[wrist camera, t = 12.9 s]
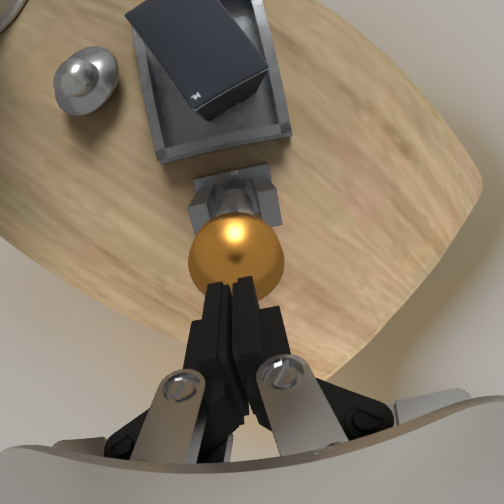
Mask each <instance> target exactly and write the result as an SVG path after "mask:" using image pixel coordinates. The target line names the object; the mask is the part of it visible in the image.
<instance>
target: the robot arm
mask: <svg viewBox="0 0 504 504" xmlns="http://www.w3.org/2000/svg"><path fill="white" fill-rule="evenodd" d="M26 1H27V0H0V32H2V31H3V30H4V29H5V28H6V27H7V26H8V25H9V24H10V23H11V22H12V21H13V19H14V18H15V17H16V16H17V14H18V13H19V12H20V10H21V9H22V7H23V6H24V4H25V2H26ZM237 281H238V282H236V283H233V286H232V294H231V290H230V287H229V284H226V285H224V284H223V282H222V281H221V282H216V283H210V284H207V289H206V296H205V302H204V308H203V315H202V319H201V320H195V321H192V323H191V327H190V333H189V338H188V343H187V349H186V354H185V360H184V365H183V369H181V370H177V371H174V372H172V373H171V374H169V375H167V376H166V377H165V378H164V379H163V380H162V381H161V383H160V385H159V387H158V389H157V392H156V394H155V396H154V399H153V401H152V404H151V406H150V408H149V409H148V410H146V411H145V412H144V413H142V414H141V415H139V416H138V417H136V418H135V419H134V420H132V421H131V422H130V423H128V424H127V425H125V426H124V427H122V428H121V429H120V430H118V431H117V432H115V433H114V434H113V435H111V436H110V437H109V438H108V439H106V438H105V437H98V438H88V439H76V440H75V439H74V440H62V441H58V442H57V443H55V444H54V445H53V447H49V446H41V445H21V446H14V447H10V448H7V449H5V450H3V451H1V452H0V504H504V396H500V395H496V396H484V397H477V398H473V399H472V397H471V396H470V394H469V393H467V392H466V391H465V390H462V389H458V388H456V389H449V390H444V391H440V392H436V393H431V394H427V395H422V396H417V397H412V398H406V399H401V400H396V401H395V404H388V405H386V404H384V403H382V402H380V401H377V400H374V399H371V398H369V397H366V396H363V395H360V394H357V393H354V392H352V391H349V390H346V389H343V388H341V387H338V386H335V385H333V384H330V383H328V382H326V381H323V380H321V379H318V378H316V377H315V376H314V374H313V373H312V371H311V369H310V367H309V365H308V364H307V362H306V361H305V360H304V359H302V358H300V357H299V356H295V355H292V354H291V352H290V348H289V344H288V340H287V336H286V332H285V327H284V323H283V319H282V315H281V311H280V307H279V306H274V307H269V308H264V309H260V308H259V304H258V299H257V295H256V290H255V286H254V281H253V277H252V276H247V277H242V278H238V279H237ZM249 404H250V406H251V409H252V411H253V414H256V417H257V420H258V422H259V424H260V425H262V426H263V427H265V428H267V429H268V430H270V431H272V432H273V435H274V438H275V442H276V444H277V448H278V450H279V453H280V457H274V458H266V459H259V460H249V461H241V462H240V461H239V462H230V456H231V450H232V444H233V434H232V433H233V432H234V431H235V430H236V429H237V428H238V427H239V425H243V424H244V416H246V415H249Z"/></svg>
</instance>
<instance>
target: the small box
mask: <svg viewBox="0 0 504 504" xmlns="http://www.w3.org/2000/svg"><path fill="white" fill-rule="evenodd" d="M125 17H126V18H127V20H128V21H129V23H130V24H131V25H132V27H133V28H134V30H135V31H136V32H137V34H138V35H139V36H140V38H141V39H142V41H143V42H144V44H145V45H146V46H147V48H148V49H149V50H150V52H151V53H152V55H153V56H154V57H155V59H156V60H157V62H158V63H159V65H160V66H161V67H162V69H163V70H164V71H165V73H166V74H167V76H168V77H169V79H170V80H171V82H172V83H173V85H174V86H175V87H176V89H177V90H178V92H179V93H180V95H181V96H182V98H183V99H184V100H185V102H186V103H187V105H188V106H189V108H190V109H191V110H192V111H193V112H195V113H196V114H197V115H199V116H201V117H202V118H203V119H204V120H205V121H209V122H210V120H212V119H214V118H215V117H216V116H217V115H220V114H221V113H222V112H224V111H225V110H227V109H229V108H230V107H232V106H234V105H236V104H237V103H239V102H241V101H244V100H246V99H247V98H249V97H250V96H251V95H253V94H255V93H256V92H257V90H258V88H259V86H260V84H261V82H262V80H263V79H264V77H265V75H266V73H267V71H268V70H269V68H270V67H269V65H268V63H267V62H266V61H265V59H264V58H263V56H262V55H261V54H260V52H259V51H258V50H257V48H256V47H255V46H254V44H253V43H252V42H251V40H250V39H249V38H248V36H247V35H246V34H245V32H244V31H243V30H242V29H241V27H240V26H239V25H238V23H237V22H236V21H235V20H234V19H233V17H232V16H231V15H230V14H229V12H228V11H227V10H226V9H225V8H224V6H223V5H222V4H221V3H220V2H219V0H146V1H144V2H143V3H141V4H140V5H138V6H136V7H135V8H133V9H132V10H130V11H129V12H128V13H126V14H125Z"/></svg>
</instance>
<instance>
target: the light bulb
mask: <svg viewBox="0 0 504 504" xmlns="http://www.w3.org/2000/svg"><path fill="white" fill-rule="evenodd" d="M188 267H189V272H190V275H191V278H192V280H193V282H194V284H195V285H196V286H197V288H198V289H199V290H200V291H201V292H202V293H203V294H204V295H206V289H207V284H210V283H216V282H221V281H222V282H223V284H224V285H226V284H229V287H230V290H231V294H232V286H233V283H236V282H238V281H237V279H238V278H242V277H247V276H252V277H253V281H254V286H255V290H256V295H257V299H258V300H260V299H262V298H264V297H265V296H267V295H268V294H269V293H270V292H271V291H272V290H273V289H274V288H275V287H276V286H277V284H278V283H279V281H280V279H281V276H282V274H283V269H284V255H283V250H282V248H281V245H280V243H279V240H278V238H277V235H276V234H275V232H274V231H273V229H272V228H271V227H270V226H269V225H268V224H267V223H266V222H265V221H263V220H262V219H260V218H258V217H257V216H255V213H254V209H253V205H252V201H251V198H250V196H249V195H248V194H247V193H246V192H245V191H243V190H241V189H230V190H227V191H226V192H224V193H223V194H222V196H221V197H220V200H219V203H218V208H217V212H216V217H214V218H212V219H210V220H209V221H208V222H206V223H205V224H204V225H203V226H202V227H201V228H200V230H199V231H198V232H197V234H196V236H195V238H194V241H193V244H192V246H191V249H190V252H189V257H188Z"/></svg>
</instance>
